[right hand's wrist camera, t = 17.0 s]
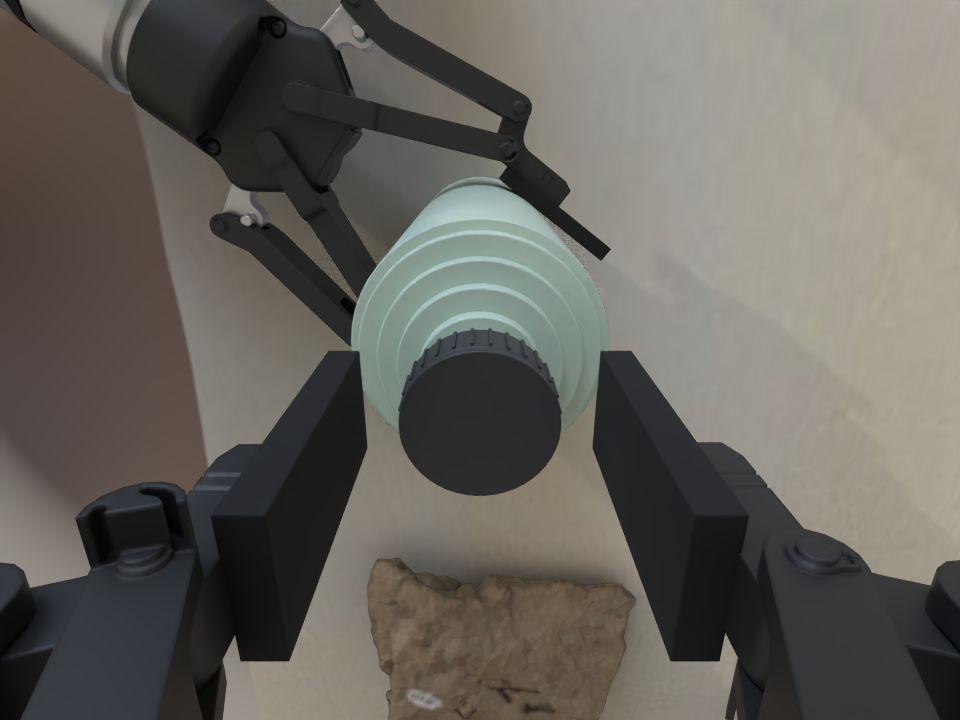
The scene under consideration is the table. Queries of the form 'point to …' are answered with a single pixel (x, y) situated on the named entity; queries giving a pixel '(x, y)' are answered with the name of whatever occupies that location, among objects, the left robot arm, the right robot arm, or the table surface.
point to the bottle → (479, 294)
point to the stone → (495, 645)
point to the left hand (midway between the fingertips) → (547, 313)
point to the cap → (479, 413)
